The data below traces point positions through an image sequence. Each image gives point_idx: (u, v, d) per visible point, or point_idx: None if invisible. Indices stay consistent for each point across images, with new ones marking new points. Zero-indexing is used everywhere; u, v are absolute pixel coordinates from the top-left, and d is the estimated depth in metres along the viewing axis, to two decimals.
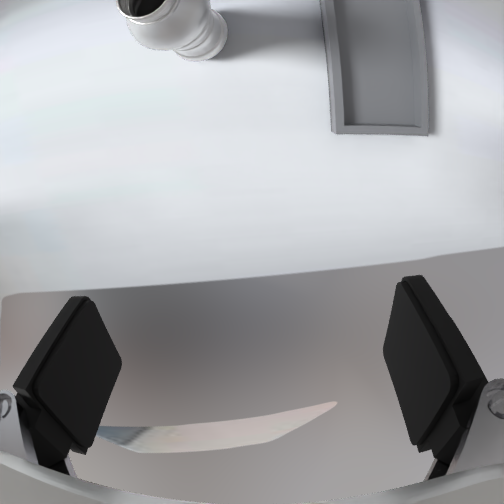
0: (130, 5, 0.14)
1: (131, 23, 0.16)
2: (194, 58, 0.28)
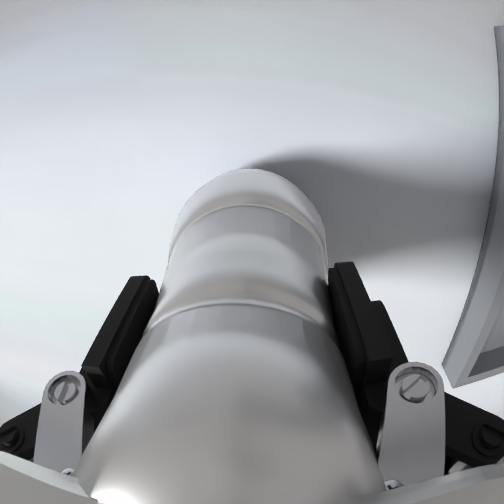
0: None
1: None
2: None
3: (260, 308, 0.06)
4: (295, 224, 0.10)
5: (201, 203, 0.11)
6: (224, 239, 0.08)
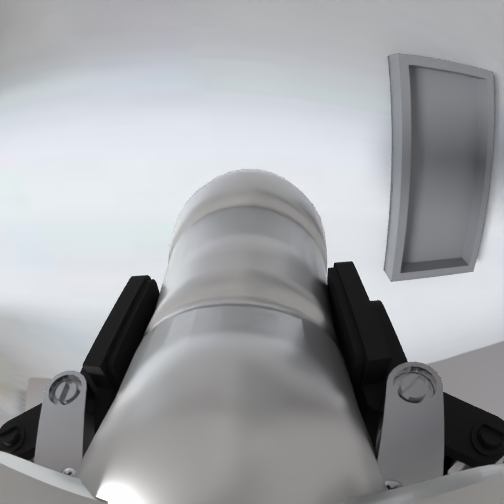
0: None
1: None
2: None
3: (261, 308, 0.06)
4: (295, 224, 0.10)
5: (201, 204, 0.11)
6: (225, 240, 0.08)
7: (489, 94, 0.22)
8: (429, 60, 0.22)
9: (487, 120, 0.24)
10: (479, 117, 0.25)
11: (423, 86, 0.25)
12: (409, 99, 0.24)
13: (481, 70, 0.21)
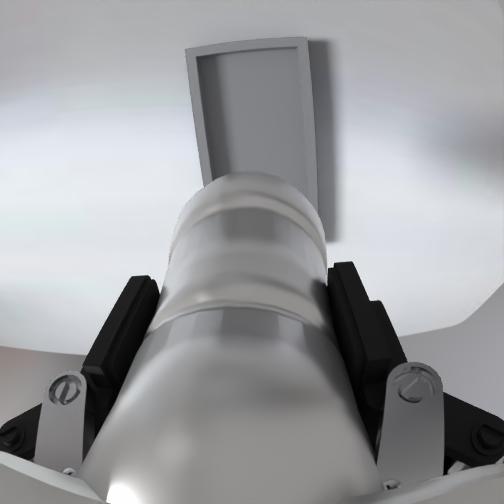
0: None
1: None
2: None
3: (261, 311, 0.06)
4: (295, 226, 0.10)
5: (201, 205, 0.11)
6: (225, 242, 0.08)
7: (301, 61, 0.26)
8: (218, 46, 0.26)
9: (302, 89, 0.28)
10: (299, 88, 0.29)
11: (225, 71, 0.29)
12: (198, 88, 0.28)
13: (288, 39, 0.25)
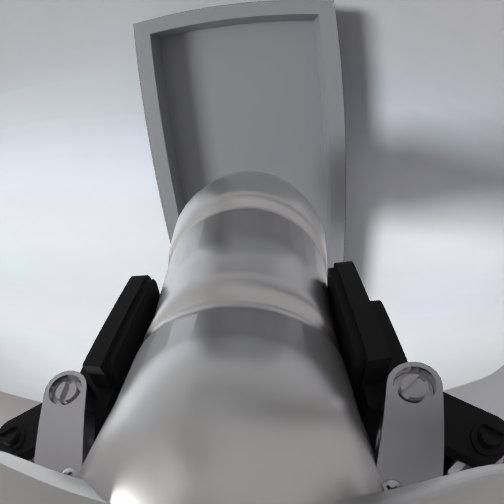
0: None
1: None
2: None
3: (261, 312, 0.06)
4: (295, 227, 0.10)
5: (201, 206, 0.11)
6: (225, 243, 0.08)
7: (326, 39, 0.15)
8: (186, 15, 0.14)
9: (326, 85, 0.16)
10: (320, 83, 0.18)
11: (200, 56, 0.17)
12: (153, 85, 0.16)
13: (303, 2, 0.14)
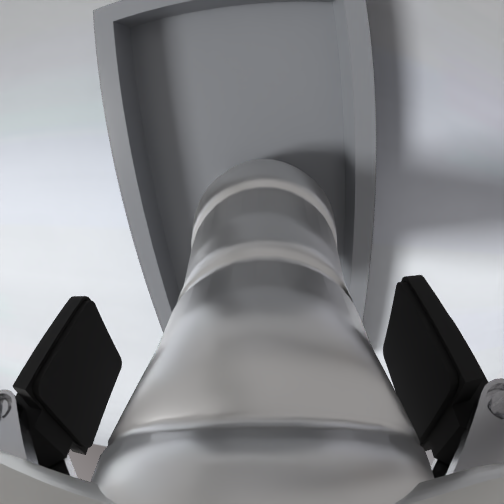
0: None
1: None
2: None
3: (288, 265, 0.07)
4: (309, 205, 0.11)
5: (223, 187, 0.12)
6: (250, 214, 0.09)
7: (352, 25, 0.10)
8: None
9: (352, 87, 0.12)
10: (342, 85, 0.13)
11: (182, 49, 0.13)
12: (117, 89, 0.12)
13: None
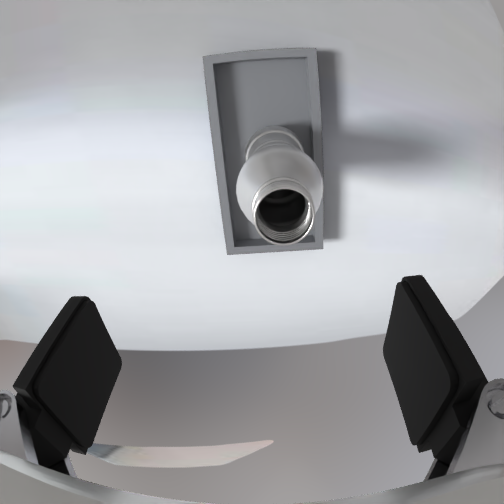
0: (258, 208, 0.20)
1: (250, 213, 0.22)
2: None
3: (283, 142, 0.26)
4: (291, 138, 0.30)
5: (260, 133, 0.31)
6: (272, 137, 0.28)
7: (311, 71, 0.29)
8: (234, 54, 0.28)
9: (310, 97, 0.31)
10: (308, 95, 0.32)
11: (240, 78, 0.31)
12: (214, 93, 0.31)
13: (299, 49, 0.28)
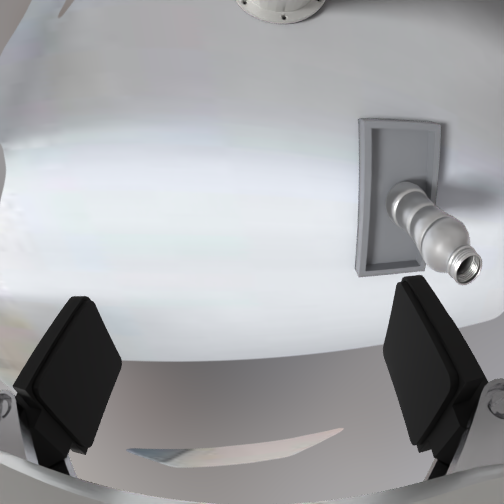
0: None
1: (437, 262, 0.30)
2: None
3: (435, 206, 0.34)
4: (426, 196, 0.38)
5: (405, 190, 0.39)
6: (420, 197, 0.36)
7: (436, 142, 0.37)
8: (387, 123, 0.36)
9: (433, 162, 0.39)
10: (428, 158, 0.40)
11: (383, 140, 0.39)
12: (370, 153, 0.39)
13: (430, 125, 0.36)
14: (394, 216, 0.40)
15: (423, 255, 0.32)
